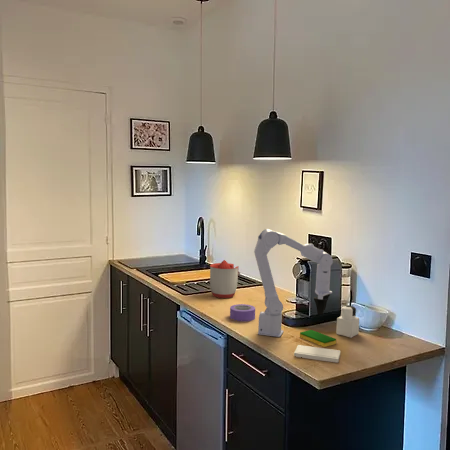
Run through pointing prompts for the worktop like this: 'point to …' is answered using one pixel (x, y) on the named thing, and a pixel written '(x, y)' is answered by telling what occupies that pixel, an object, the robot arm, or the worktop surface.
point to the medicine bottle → (347, 322)
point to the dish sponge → (318, 338)
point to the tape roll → (242, 312)
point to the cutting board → (317, 353)
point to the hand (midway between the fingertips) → (321, 312)
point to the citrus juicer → (223, 279)
